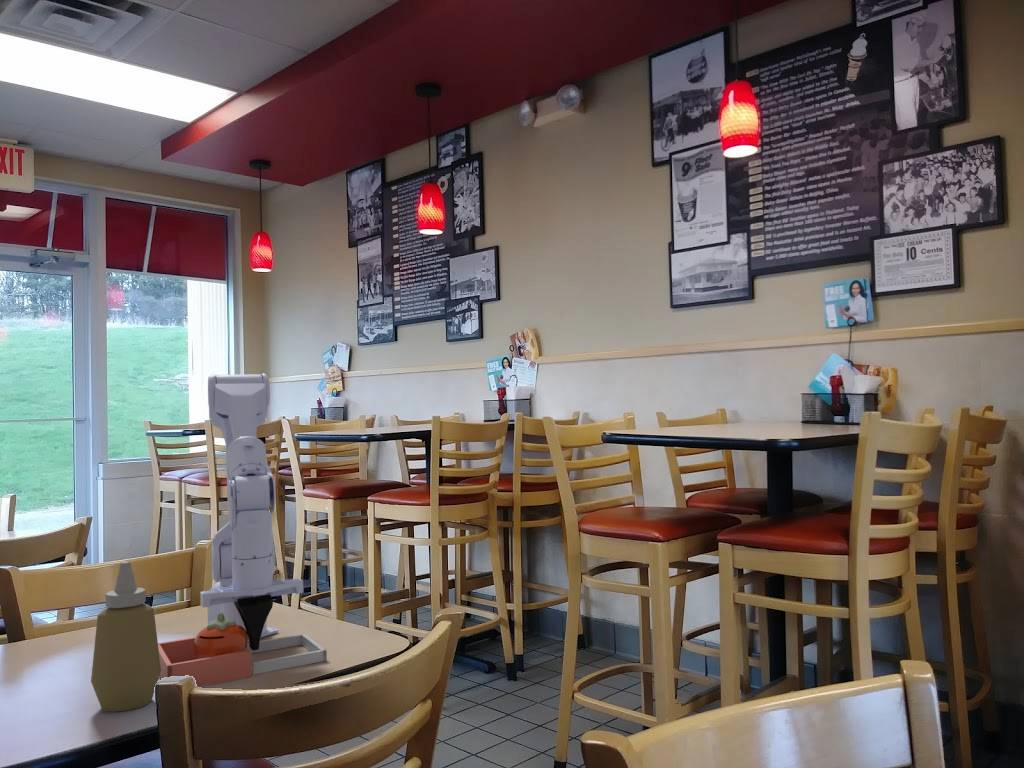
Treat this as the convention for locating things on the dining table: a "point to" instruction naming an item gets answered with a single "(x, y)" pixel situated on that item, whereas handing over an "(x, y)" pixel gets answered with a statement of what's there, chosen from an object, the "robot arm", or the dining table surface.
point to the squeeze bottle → (125, 647)
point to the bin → (202, 663)
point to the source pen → (289, 661)
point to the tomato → (220, 638)
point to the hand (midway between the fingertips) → (254, 648)
